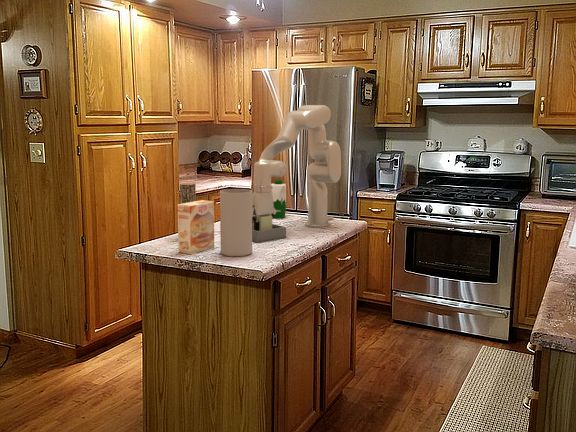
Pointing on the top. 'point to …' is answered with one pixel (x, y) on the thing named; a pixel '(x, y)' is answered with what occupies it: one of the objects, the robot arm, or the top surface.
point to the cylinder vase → (236, 222)
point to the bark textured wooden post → (187, 192)
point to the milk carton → (279, 198)
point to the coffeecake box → (195, 226)
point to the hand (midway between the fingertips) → (262, 229)
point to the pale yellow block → (264, 222)
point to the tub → (269, 234)
